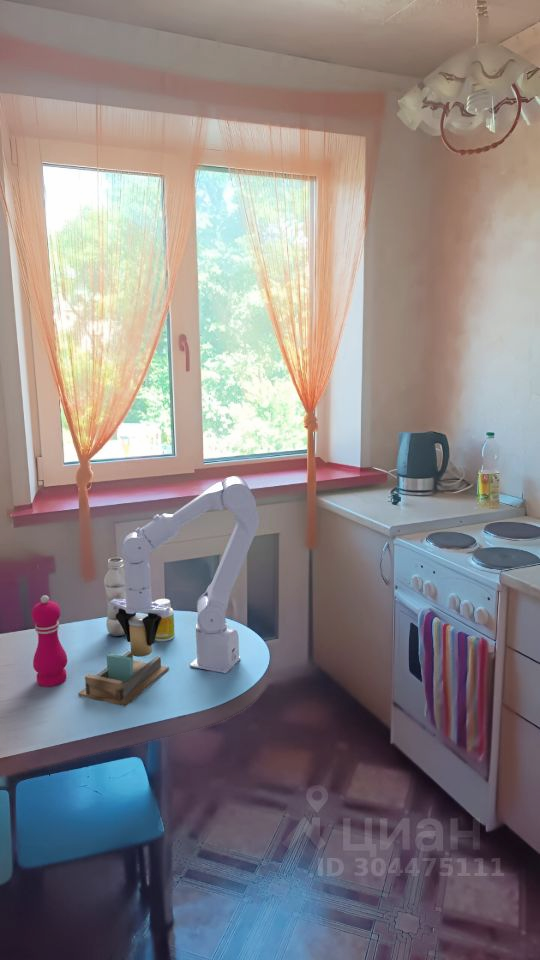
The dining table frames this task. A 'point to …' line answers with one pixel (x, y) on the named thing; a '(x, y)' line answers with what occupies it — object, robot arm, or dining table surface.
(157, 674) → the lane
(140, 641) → the jar
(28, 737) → the dining table surface
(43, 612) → the pepper mill
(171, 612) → the supplement bottle
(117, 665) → the pusher
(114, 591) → the plastic bottle
